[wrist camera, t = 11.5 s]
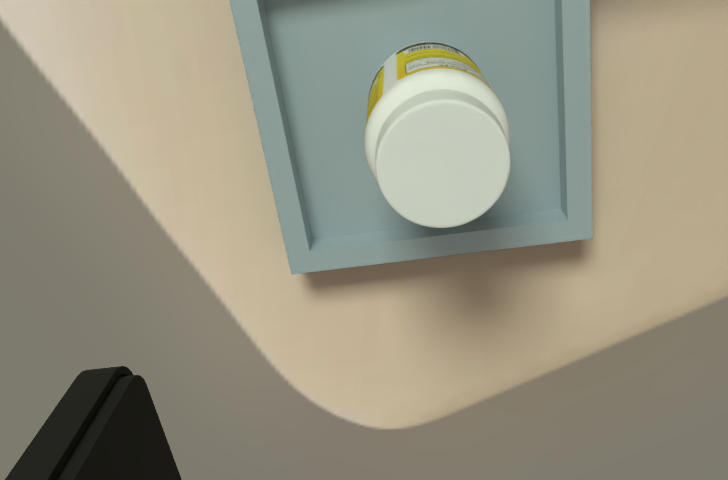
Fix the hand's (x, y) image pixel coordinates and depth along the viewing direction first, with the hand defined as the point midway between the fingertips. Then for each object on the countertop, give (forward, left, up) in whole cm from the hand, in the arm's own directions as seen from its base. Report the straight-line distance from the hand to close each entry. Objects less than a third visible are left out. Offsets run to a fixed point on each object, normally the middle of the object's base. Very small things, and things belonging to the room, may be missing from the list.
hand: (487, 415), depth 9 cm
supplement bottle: (0, 0, -20) cm, 20 cm away
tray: (0, +1, -20) cm, 20 cm away
